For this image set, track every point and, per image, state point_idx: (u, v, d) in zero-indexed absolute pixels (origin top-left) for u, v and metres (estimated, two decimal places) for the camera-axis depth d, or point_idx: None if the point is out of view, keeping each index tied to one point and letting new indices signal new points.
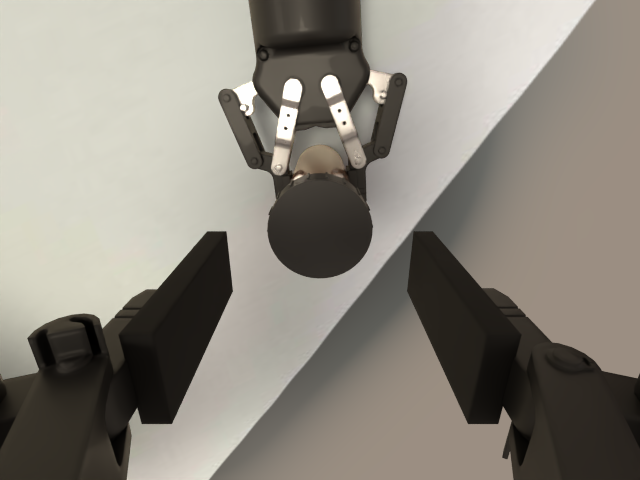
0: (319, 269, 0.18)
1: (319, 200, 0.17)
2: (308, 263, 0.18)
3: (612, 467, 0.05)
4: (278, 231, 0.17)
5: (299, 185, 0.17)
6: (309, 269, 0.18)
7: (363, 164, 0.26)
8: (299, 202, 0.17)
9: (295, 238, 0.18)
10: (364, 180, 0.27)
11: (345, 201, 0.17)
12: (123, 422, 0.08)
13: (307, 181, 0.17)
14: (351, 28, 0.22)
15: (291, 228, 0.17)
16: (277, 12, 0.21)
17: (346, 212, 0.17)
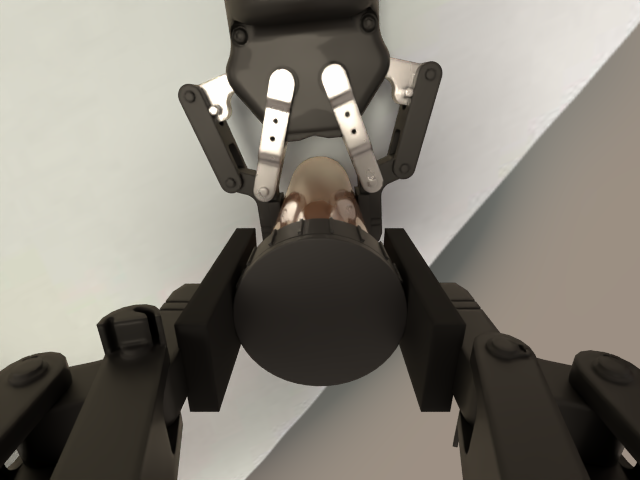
0: (319, 373, 0.11)
1: (319, 270, 0.10)
2: (301, 365, 0.11)
3: (543, 449, 0.05)
4: (250, 318, 0.10)
5: (284, 246, 0.10)
6: (303, 373, 0.11)
7: (379, 187, 0.19)
8: (285, 273, 0.10)
9: (279, 329, 0.11)
10: (379, 207, 0.20)
11: (363, 272, 0.10)
12: (177, 408, 0.08)
13: (298, 240, 0.10)
14: None
15: (272, 313, 0.10)
16: None
17: (365, 289, 0.10)
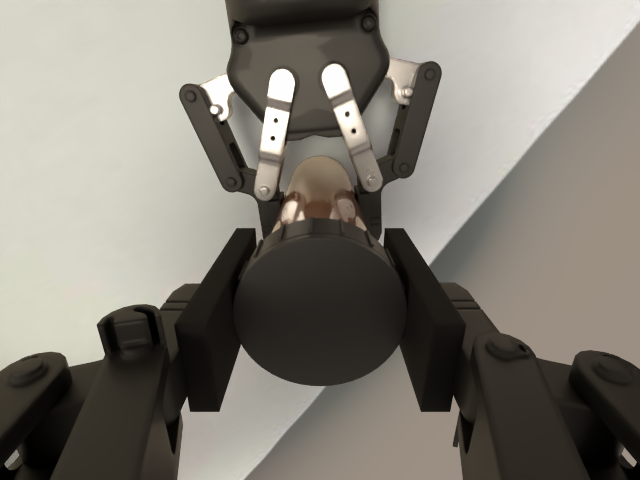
0: (389, 316, 0.10)
1: (266, 322, 0.10)
2: (377, 333, 0.11)
3: (543, 449, 0.05)
4: (322, 373, 0.11)
5: (246, 348, 0.11)
6: (389, 331, 0.11)
7: (378, 186, 0.20)
8: (272, 348, 0.11)
9: (333, 352, 0.11)
10: (379, 206, 0.21)
11: (262, 285, 0.10)
12: (178, 408, 0.08)
13: (239, 337, 0.11)
14: None
15: (316, 357, 0.11)
16: None
17: (281, 282, 0.10)
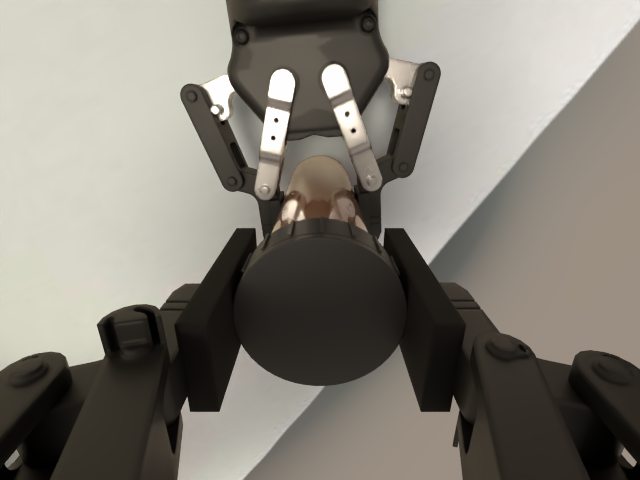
0: (313, 255, 0.10)
1: (326, 362, 0.11)
2: (334, 265, 0.10)
3: (543, 448, 0.05)
4: (389, 313, 0.10)
5: (357, 376, 0.11)
6: (331, 254, 0.10)
7: (378, 185, 0.20)
8: (356, 356, 0.11)
9: (360, 305, 0.10)
10: (379, 206, 0.21)
11: (286, 364, 0.11)
12: (178, 408, 0.08)
13: (346, 381, 0.11)
14: None
15: (368, 320, 0.10)
16: None
17: (282, 350, 0.11)
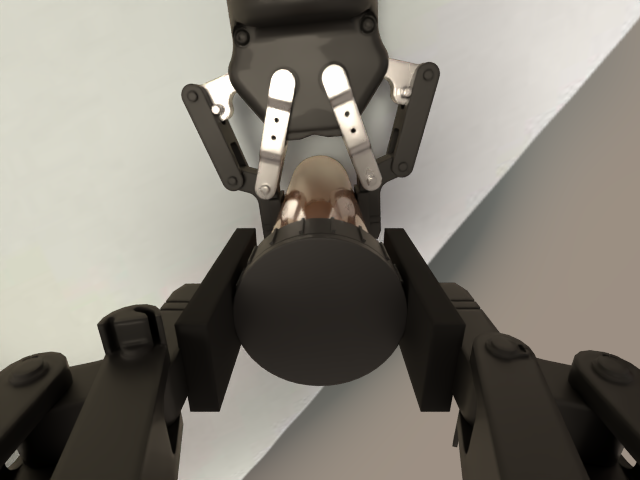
0: (251, 327, 0.11)
1: (374, 311, 0.10)
2: (259, 310, 0.10)
3: (543, 448, 0.05)
4: (309, 256, 0.10)
5: (396, 279, 0.10)
6: (247, 313, 0.10)
7: (378, 185, 0.20)
8: (367, 283, 0.10)
9: (301, 284, 0.10)
10: (378, 205, 0.21)
11: (376, 345, 0.11)
12: (178, 408, 0.08)
13: (403, 289, 0.10)
14: None
15: (318, 276, 0.10)
16: None
17: (359, 349, 0.11)
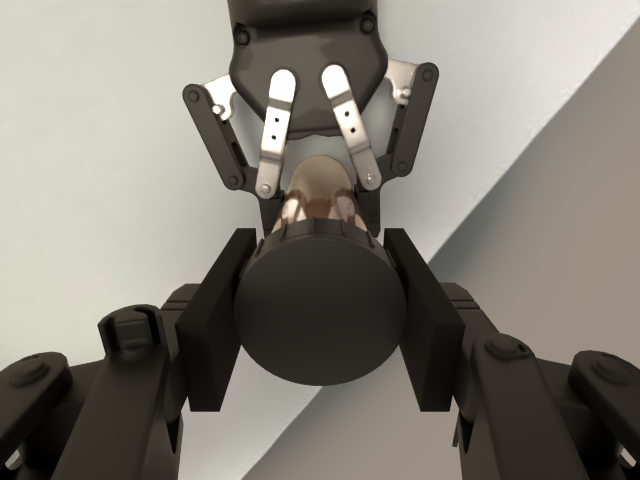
0: (332, 372, 0.11)
1: (307, 271, 0.10)
2: (313, 367, 0.11)
3: (542, 448, 0.05)
4: (253, 330, 0.11)
5: (268, 254, 0.10)
6: (316, 375, 0.11)
7: (377, 184, 0.20)
8: (275, 281, 0.10)
9: (283, 335, 0.11)
10: (378, 204, 0.21)
11: (351, 264, 0.10)
12: (178, 408, 0.08)
13: (279, 245, 0.10)
14: None
15: (271, 322, 0.10)
16: None
17: (356, 281, 0.10)
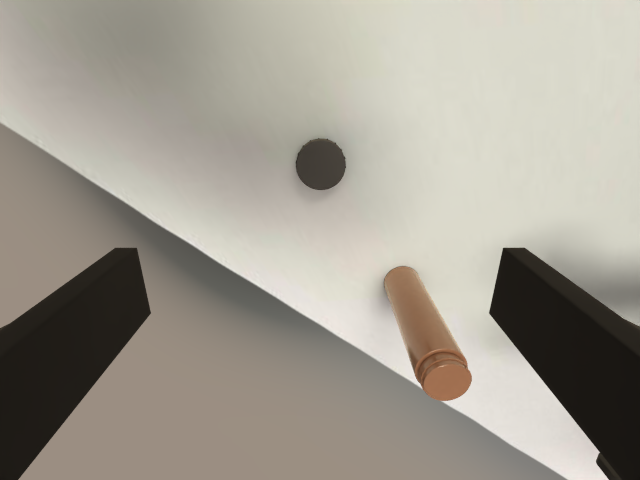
0: (324, 184, 0.38)
1: (317, 150, 0.37)
2: (318, 182, 0.38)
3: None
4: (301, 169, 0.37)
5: (307, 145, 0.36)
6: (320, 185, 0.38)
7: None
8: (308, 153, 0.37)
9: (310, 171, 0.37)
10: None
11: (329, 148, 0.37)
12: None
13: (310, 142, 0.36)
14: None
15: (307, 166, 0.37)
16: None
17: (330, 153, 0.37)
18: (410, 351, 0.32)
